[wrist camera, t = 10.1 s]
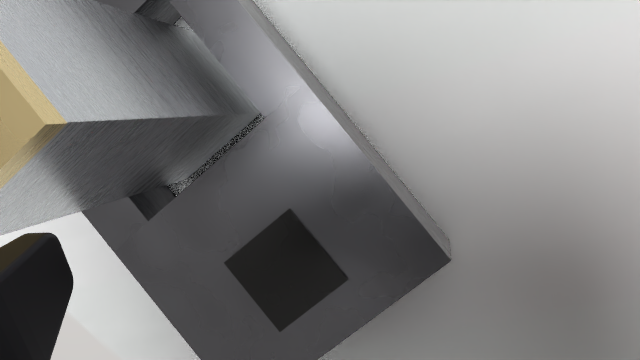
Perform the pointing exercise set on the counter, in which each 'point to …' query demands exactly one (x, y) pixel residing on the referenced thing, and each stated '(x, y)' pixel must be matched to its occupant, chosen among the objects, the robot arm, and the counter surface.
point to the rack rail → (273, 212)
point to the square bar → (103, 107)
